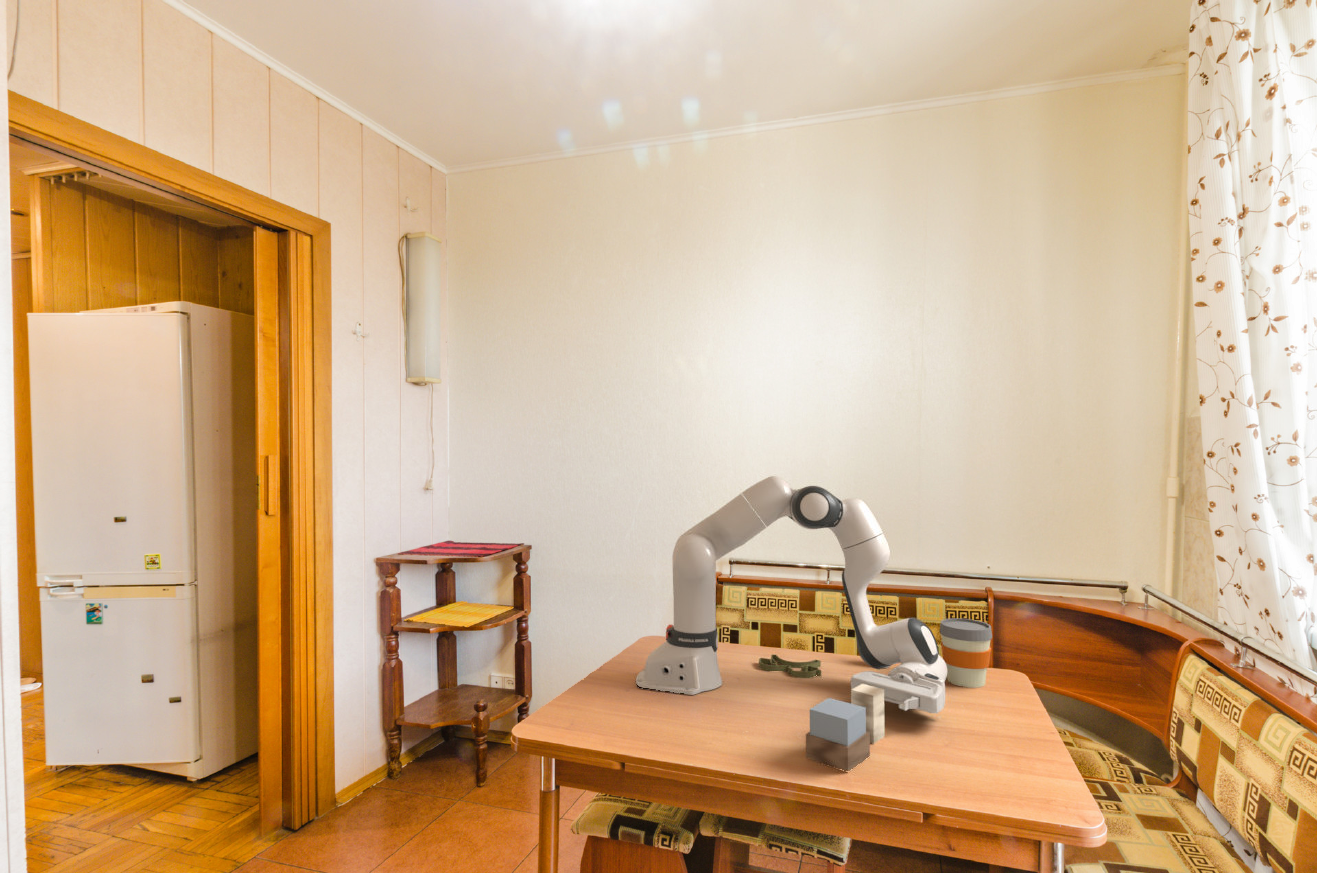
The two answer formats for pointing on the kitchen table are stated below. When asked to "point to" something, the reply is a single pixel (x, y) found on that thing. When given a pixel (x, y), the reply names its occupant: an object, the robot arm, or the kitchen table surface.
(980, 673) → the reusable coffee cup
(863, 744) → the walnut base block
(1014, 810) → the kitchen table surface
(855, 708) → the slate-blue top block
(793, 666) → the cookie cutter
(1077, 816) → the kitchen table surface
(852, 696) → the cream pillar block
